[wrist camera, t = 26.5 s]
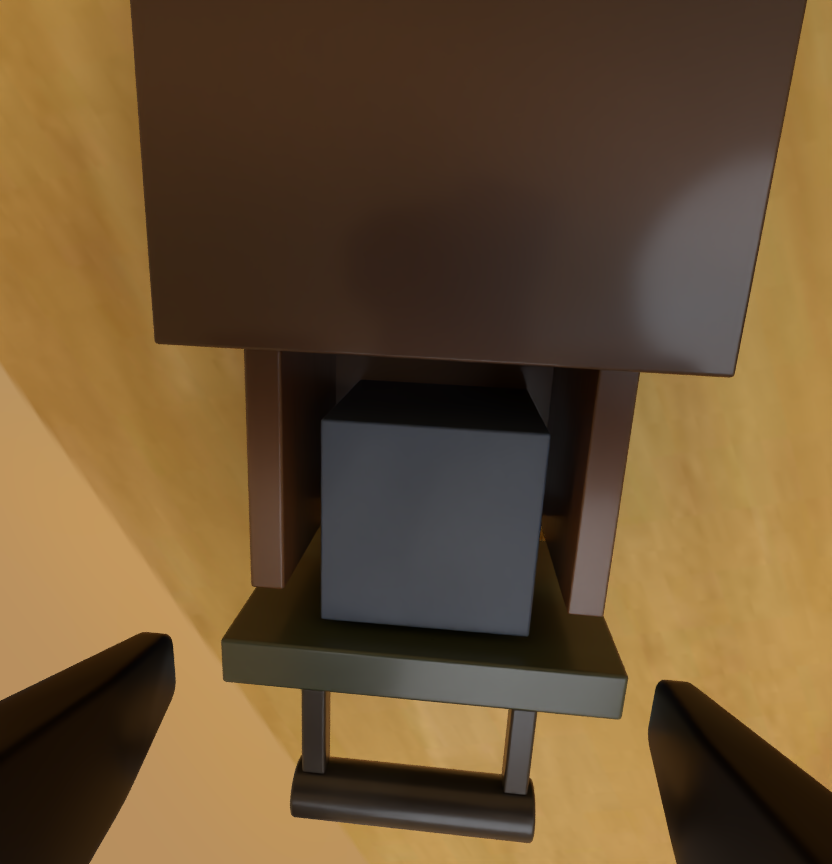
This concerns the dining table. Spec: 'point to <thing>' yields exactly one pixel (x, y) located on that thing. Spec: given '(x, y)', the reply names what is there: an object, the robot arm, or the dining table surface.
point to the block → (432, 506)
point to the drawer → (425, 647)
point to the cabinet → (462, 175)
